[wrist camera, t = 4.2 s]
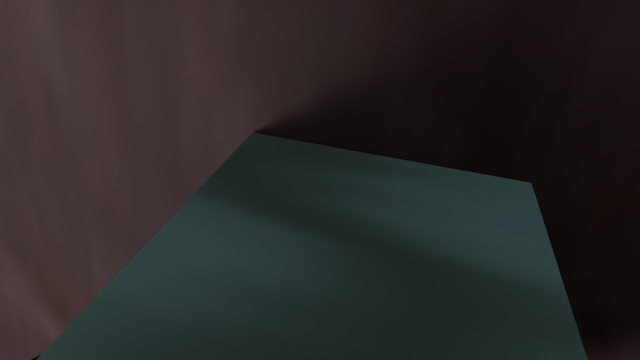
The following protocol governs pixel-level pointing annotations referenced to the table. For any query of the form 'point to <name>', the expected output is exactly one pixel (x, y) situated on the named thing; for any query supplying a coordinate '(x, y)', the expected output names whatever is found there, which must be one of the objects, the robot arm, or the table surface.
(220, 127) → the table surface
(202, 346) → the teal block
